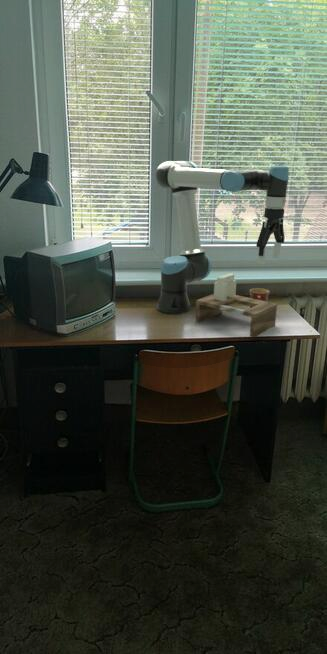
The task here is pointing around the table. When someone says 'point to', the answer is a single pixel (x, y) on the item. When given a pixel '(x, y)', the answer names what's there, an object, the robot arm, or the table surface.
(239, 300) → the shelf
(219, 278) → the white plastic block
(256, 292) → the mug
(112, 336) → the table surface
